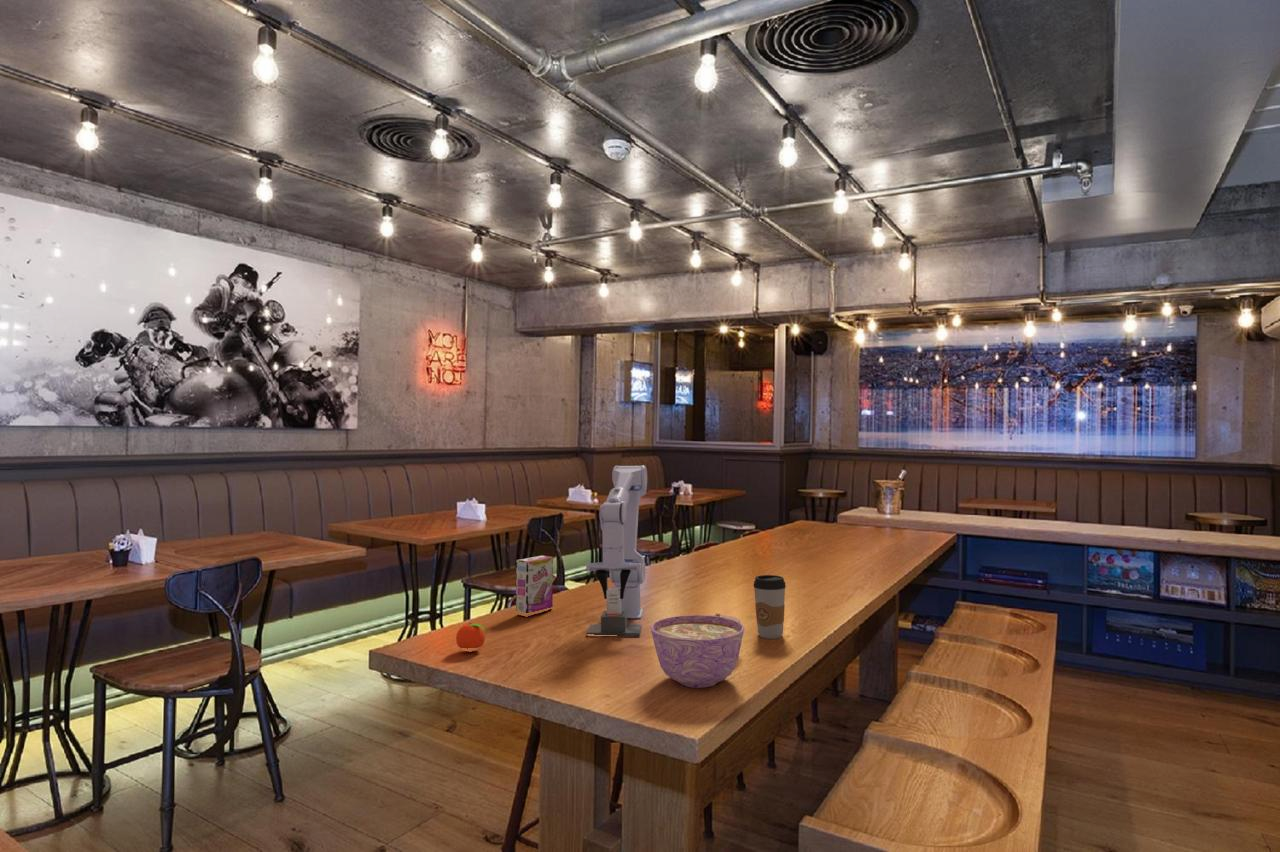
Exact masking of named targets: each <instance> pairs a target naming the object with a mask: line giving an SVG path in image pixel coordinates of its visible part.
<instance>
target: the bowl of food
mask: <svg viewBox="0 0 1280 852" xmlns="http://www.w3.org/2000/svg"><path fill="white" fill-rule="evenodd" d="M650 631H651V635H652V636H651V637H652V640H653V643H654V648H655V651H656V656H657V660H658V662H659V664H660V665H659V666H660V669H661V670H662V671H663V673H664V674H665V676H667V677H669V678H671V679H672V680H674V681H676V682H678V683H679V684H681V685H682V686H685V687H688V688H696V689H698V688H701V689H702V688H708V687H709V688H710V687H712V686H715V685H716V684H717V683H719V682H721V681H723V680H725V679H727V678H728V677H729V676H731V675H732V673H733V671H734V670H735V668H736V665H737V663H738V659H739V655H740V650H741V646H742V641H743V637H744V633H745V626H744V625H743V624H742V623H741V622H740V623H739V622H737V621H735V620H732V619H728V618H724V617H718V616H709V614H708V615H705V614H704V615H703V614H692V615H691V614H688V615H687V614H686V615H685V614H684V615H677V616H675V615H674V616H669V617H666V618H662V619H659V620H656V621H654V622H653V623H652V624H651V625H650Z"/></svg>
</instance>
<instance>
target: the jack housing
mask: <svg viewBox="0 0 1280 852" xmlns="http://www.w3.org/2000/svg"><path fill="white" fill-rule="evenodd" d="M606 615H607V610H603V611H602V614H601V615H600V624H589V627H588V629H587V630H586V632H585V633H586V634H594V635H617V636H636V637H635V638H638V637H639V638H640V636H641V633H642V630H641V629H643V626H642V625H643V624H628V618H627V611H622V616H619V615H607V616H606Z"/></svg>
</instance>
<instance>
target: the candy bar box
mask: <svg viewBox="0 0 1280 852" xmlns="http://www.w3.org/2000/svg"><path fill="white" fill-rule="evenodd" d="M553 559H554V558H553V556H550V555H537V556H532V557H526V558H521V559H516V561H515V563H516V565H515V566H516V567H515V568H516V570H515V571H516V572H515V573H516V575H515V577H516V578H515V579H516V583H515V585H516V588H515V589H516V590H515V593H516V595H515V598H516V599H515V606H516V607H515V608H516V610H515V612H516V611H521V612H523V613H531V612H535V611H539V610H543V609H547V608H551V607H553V605H554V604H553V603H554V602H553V598H554V597H553V594H554V593H553V586H554V585H553V584H554V583H553V579H554V578H553V577H554V575H553V572H554V571H553V570H554V567H553V566H554V560H553Z"/></svg>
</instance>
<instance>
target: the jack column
mask: <svg viewBox="0 0 1280 852" xmlns="http://www.w3.org/2000/svg"><path fill="white" fill-rule="evenodd" d="M607 587H608V586H607ZM620 590H621V587H616V586H614V587H608V588H607V590H606V595H607V599H606V611H607V615H619V616H622V600H621V599H620ZM607 615H606V616H607Z"/></svg>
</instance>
